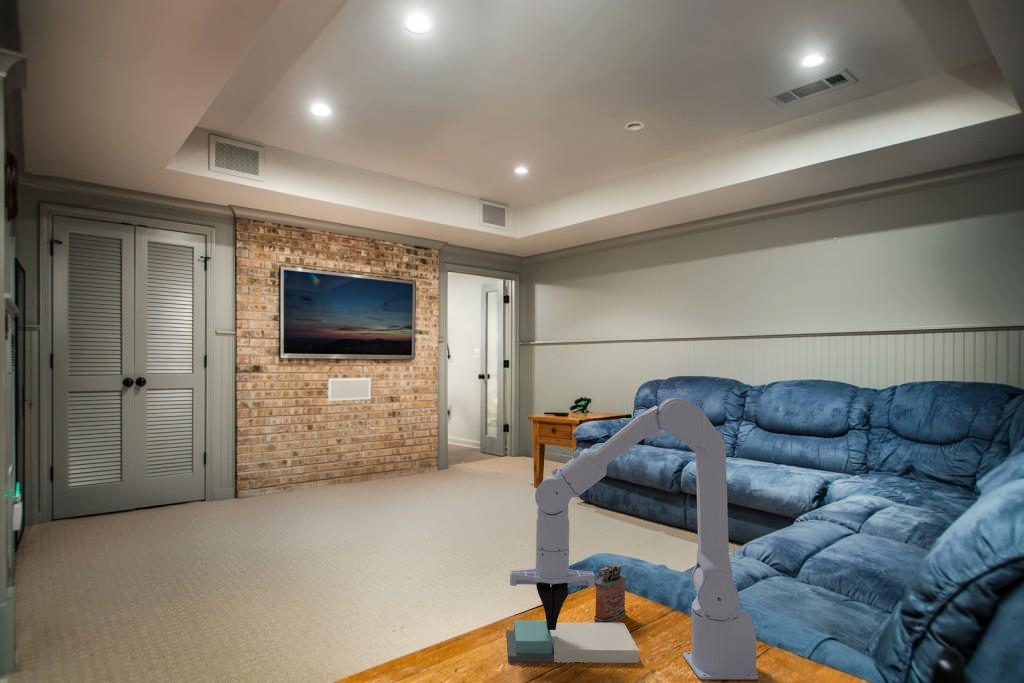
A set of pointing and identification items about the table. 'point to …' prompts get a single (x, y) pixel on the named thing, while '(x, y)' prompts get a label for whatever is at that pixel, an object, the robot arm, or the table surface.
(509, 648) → the mat
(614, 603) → the lighter
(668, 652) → the table surface
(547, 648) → the tile
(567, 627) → the plinth
